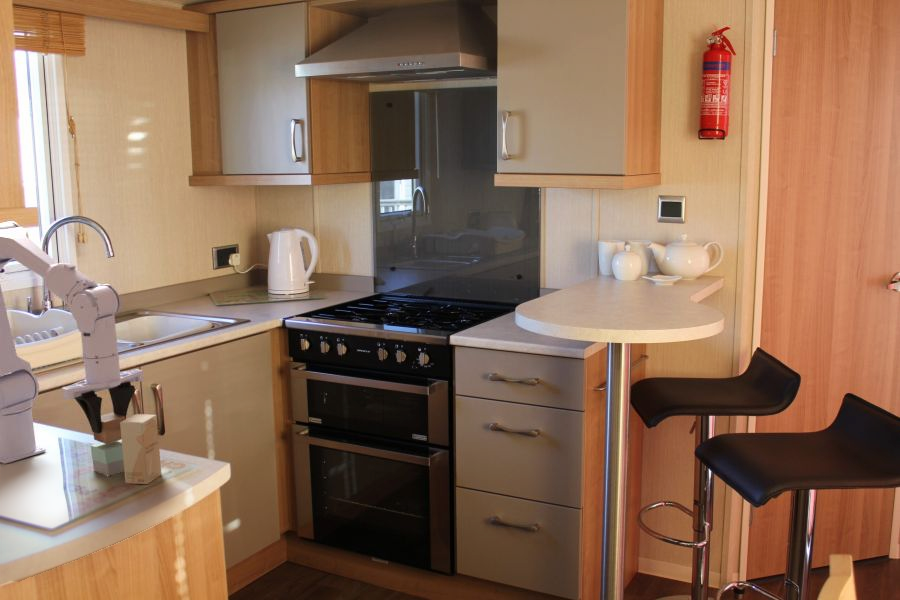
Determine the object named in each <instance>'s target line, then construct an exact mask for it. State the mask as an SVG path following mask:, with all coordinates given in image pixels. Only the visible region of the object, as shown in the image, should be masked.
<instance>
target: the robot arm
mask: <svg viewBox="0 0 900 600" xmlns="http://www.w3.org/2000/svg"><path fill="white" fill-rule="evenodd" d="M12 260H14V261H16V262H17V263H19V264H20V265H22V266H23V267H25V268H27V269H29V270H30V271H31V272H33V273H35V274H37V275H38V276H40V277H41V278H42V279H43V284H44V286H45V287H44V288H46V290H48V291H49V292H50V293H52V294H53V295H55V296H56V297H57V298H58V299H60V300H61V301H62V302H63V303H65V304H67V305H68V306H69V309H70V313H71V315H72V317H73V318H74V319H75V322H76V327H77V330H78V332H80V335H81V336H80V337H81V345H82V354H83V365H84V372H85V373H84V374H85V379H84V380H81V381H78V382H75V383H73V384H70V385H67V386H63V387H61V394H62V399H63V400H68V401H71V400H74V399H75V401H76V402H77V403H78V405H79V406H80V408H81V409H82V410H83V412H84V414H85V416H86V419H87V421H88V424H89V426H90V429H91V432H95V433H102V422H101V416H102V415H101V414H102V402H103V398H102V397H101V396H98V395H97V393H96V392H101V391H104V390H108V392H109V396H110V400H111V402H112V408H113V409H112V410H113V413H116V414H119V415H122V416H125V419H127V415H128V411H129V406H130V402H131V401H132V398H133V396H134V394H135V392H136V389H135V388H136V387H135V385H133V384H131V383H136V382H139V383H140V382H144V371H143V370H142V369H137V368H136V369H132V370H125V371H121V370H120V369H121V368H120V360H119V359H120V358H119V349H118V348H119V347H118V339H117V338H118V337H117V329H116V327H117V326H116V320H115V316H116V315H117V314H118V313H119V311H120V309H121V298H120V295H119V293H118V292H117V290H116V289H115V288H114V287H113V286H112V285H111V284H108V283H104V284H103V283H102V284H101V283H99V282H95V281H94V280H93V279H92V278H89V277H88V276H86V275H85V274H83V272H81V271H79V270H78V269H77V266H76V265H74V263H72V262H59V263H57V262H56V261H55V260H54V258H52V257H51V256H50V255H48V254H47V253H46V252H45V251H44V250H43V249H41V248H40V247H39V246H38V245H37V244H36V243H35V242H33V240H31V239H30V238H29V233H28V230H27V229H26V228H24V227H22V226H21V225H19V223H17V222H15V221H12V220H9V221H4V222H0V272H1V271H2V270H3V268H4V267H5V266H6V265H7V264H8V263H10V262H11V261H12ZM8 315H9V314H8V312H7V308H6V303H5V299H4V295H3V291H2V287H1V285H0V463H2V464H9V463H12V462H15V461H18V460H19V461H20V460H22V459H25V458H28V457H31V456H35V455H38V454H43V453H45V452H46V449H45V448H43V447H41V446H39V445H37V443H36V436H35V428H34V420H33V411H32V406H34V405H35V399H36V398H37V397H38V395H39V392H40V387H39V386H40V383H39V382H38V379H37V377H36V376H35V374H34V373H33V369H32V366H31V363H30V362H28V361H27V360H25V359H23V358H21V357H20V356H19V355H18V354H17V349H16V345H15V341H14V338H13V337H14V336H13V333H12V328H11V325H10V324H11V323H10V320H9V316H8Z"/></svg>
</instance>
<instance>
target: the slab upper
mask: <svg viewBox="0 0 900 600" xmlns="http://www.w3.org/2000/svg"><path fill="white" fill-rule="evenodd" d="M90 451H91V459H92V460H93V459H94V460H97V461H99V462H102V463H104V464H109V463H113V462H116V461H119V460H122V459H123V450H122V439H121V440H118V441H115V442H112V443H108V444H105V443H102V442H98V443H94V444H92V445H90Z"/></svg>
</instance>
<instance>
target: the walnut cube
mask: <svg viewBox="0 0 900 600" xmlns="http://www.w3.org/2000/svg"><path fill="white" fill-rule="evenodd" d="M124 420H125V416H122V415H119V414H116V413H114V411H113V412H109V413H106V414H103V415H101V422H102V433H95V432H93V440H94V441H97V442H98V443H100V442H102V443H105V444H108V443H112V442H115V441H118V440H122V439H121V428H120V422H122V421H124Z"/></svg>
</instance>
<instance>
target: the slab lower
mask: <svg viewBox="0 0 900 600" xmlns="http://www.w3.org/2000/svg"><path fill="white" fill-rule="evenodd" d="M92 467H93V471H94V470H95V471H94V472H96V471H98V472H97V473H99V472H100V473H99V474H101V473H103V474H102V475H104V474H105V475H104V476H106V475H108V476H109V477H111V476H110V475H112V476H115V475H118V474H120V472H121V473H123V471H124V461H123V459H122V460H119V461H116V462H113V463H109V464H104V463H102V462H99V461H97V460H94V459H92ZM124 472H125V471H124ZM117 473H118V474H117ZM114 474H115V475H114ZM108 476H107V477H108Z"/></svg>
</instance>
